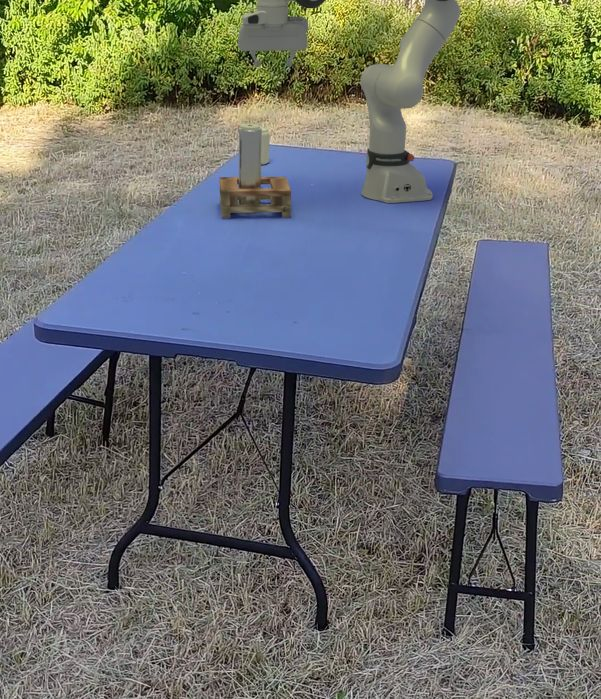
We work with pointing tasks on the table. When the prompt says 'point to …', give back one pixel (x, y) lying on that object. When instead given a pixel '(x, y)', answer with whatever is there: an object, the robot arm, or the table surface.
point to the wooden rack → (276, 194)
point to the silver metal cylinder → (250, 161)
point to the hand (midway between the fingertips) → (273, 66)
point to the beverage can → (265, 146)
